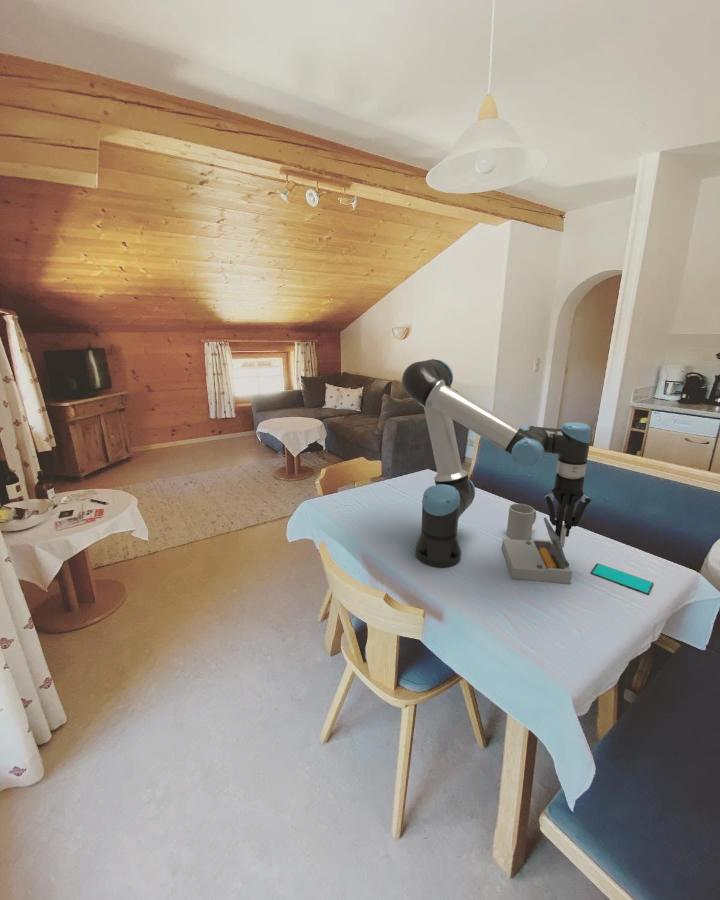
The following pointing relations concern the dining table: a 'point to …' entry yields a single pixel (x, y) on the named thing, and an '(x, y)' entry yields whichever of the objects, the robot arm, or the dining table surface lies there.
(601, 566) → the smartphone
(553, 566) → the capsule
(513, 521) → the mug
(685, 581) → the dining table surface
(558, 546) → the cover
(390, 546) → the dining table surface
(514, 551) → the hinged lid box
